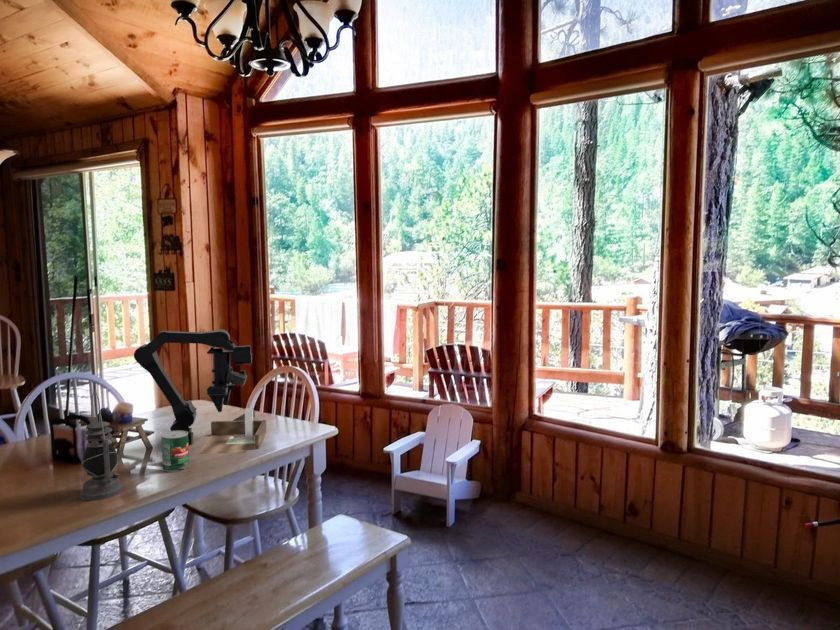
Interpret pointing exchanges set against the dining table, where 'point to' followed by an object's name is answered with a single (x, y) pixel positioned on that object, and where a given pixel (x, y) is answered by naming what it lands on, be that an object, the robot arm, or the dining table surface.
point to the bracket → (246, 428)
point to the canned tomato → (174, 450)
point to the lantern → (100, 462)
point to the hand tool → (243, 417)
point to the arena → (228, 429)
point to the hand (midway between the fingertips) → (223, 408)
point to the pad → (239, 442)
